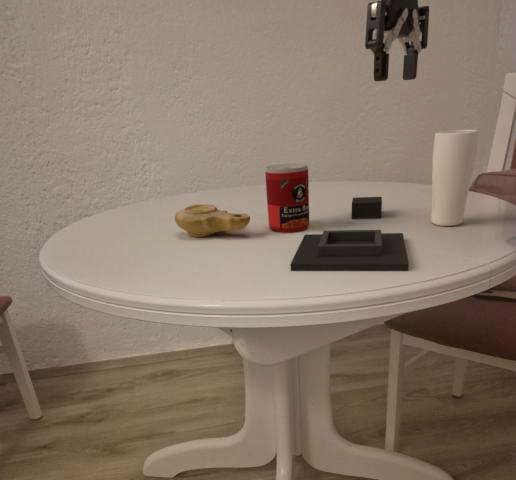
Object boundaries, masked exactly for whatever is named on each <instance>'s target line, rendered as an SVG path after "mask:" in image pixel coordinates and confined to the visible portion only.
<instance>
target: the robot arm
mask: <svg viewBox="0 0 516 480" xmlns="http://www.w3.org/2000/svg"><path fill="white" fill-rule="evenodd" d="M429 21H430V6H429V5H422V6H419V0H375V1H372V2H368V4H367V9H366V25H365V41H364V46H365V49H366V50H370V51H371V54H372V55H373V80H374V82H386V81H388V79H389V66H390V53H389V51H390V49H391V46H392V44H393V42H394V41H395V40H398V42H399V44H400V43H401V45H402V48H403V51H404V55H403V67H402V68H403V69H402V79H403V81H411V80H415V79H417V74H418V61H419V54H420V53H421V52H422V50H426V49H427V47H428V40H429V25H430V24H429ZM375 30H376V31H375ZM374 31H375V34H374ZM373 36H374V38H373ZM420 36H421V37H420ZM420 39H421V40H420Z"/></svg>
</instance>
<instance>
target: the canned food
mask: <svg viewBox="0 0 516 480" xmlns="http://www.w3.org/2000/svg"><path fill="white" fill-rule="evenodd" d="M264 175H265V190H266V206H267V218H268V219H267V221H268V226H269V229H270V230H271V231H273V232H276V233H297V232H302V231H305V230H306V229H308V228H309V224H310V192H309V191H310V190H309V189H310V187H309V182H310V181H309V166H308V164H306V163H302V162H299V163H298V162H293V163H292V162H289V163H280V164H279V163H277V164H271V165H268V166H266V167H265V174H264Z"/></svg>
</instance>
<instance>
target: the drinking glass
mask: <svg viewBox="0 0 516 480" xmlns="http://www.w3.org/2000/svg"><path fill="white" fill-rule="evenodd" d="M478 141H479V130H478V129H450V130H440V131H436V132H435V133H434V139H433V145H432V146H433V147H432V157H431V158H432V160H431V162H432V163H431V212H430V213H431V215H430V222H431V223H432V224H433V225H435V226H438V227H455V226H459V225H461V224H463V221H464V217H465V210H466V205H467V199H468V195H469V189H470V186H471V181H472V176H473V171H474V166H475V162H476V156H477V150H478Z"/></svg>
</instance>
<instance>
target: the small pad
mask: <svg viewBox="0 0 516 480" xmlns="http://www.w3.org/2000/svg"><path fill="white" fill-rule="evenodd" d="M382 199H383V197H382V196H363V197H361V196H360V197H359V196H358V197H357V196H356V197H352V200H351V220H359V219H360V220H362V219H364V220H365V219H366V220H367V219H382V211H383V210H382V209H383V200H382Z"/></svg>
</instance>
